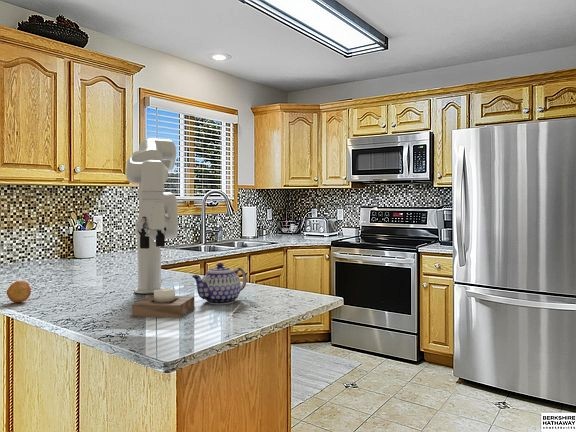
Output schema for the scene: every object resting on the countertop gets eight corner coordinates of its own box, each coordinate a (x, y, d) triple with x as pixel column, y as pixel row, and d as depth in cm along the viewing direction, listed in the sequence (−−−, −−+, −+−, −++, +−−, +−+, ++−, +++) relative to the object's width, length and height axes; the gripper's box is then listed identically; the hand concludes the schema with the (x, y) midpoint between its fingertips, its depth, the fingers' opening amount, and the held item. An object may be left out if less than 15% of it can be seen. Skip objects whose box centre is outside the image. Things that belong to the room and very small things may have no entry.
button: (158, 298, 162) (158, 288, 162) (177, 298, 161) (177, 288, 161) (150, 302, 155) (150, 291, 155) (171, 302, 154) (170, 292, 154)
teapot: (235, 295, 190) (235, 258, 190) (258, 300, 178) (258, 261, 178) (181, 303, 173) (181, 263, 173) (203, 309, 161) (202, 267, 161)
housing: (151, 306, 167) (151, 295, 167) (194, 307, 165) (194, 296, 165) (132, 316, 151) (132, 304, 151) (179, 317, 149) (179, 305, 149)
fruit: (4, 286, 177) (3, 285, 170) (27, 279, 181) (26, 277, 174) (11, 306, 177) (10, 305, 170) (33, 298, 181) (34, 297, 174)
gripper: (156, 198, 166) (156, 245, 165) (127, 196, 149) (128, 249, 149) (175, 198, 164) (175, 246, 164) (148, 195, 147) (148, 249, 147)
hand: (152, 247), depth 156 cm, fingers open, 9 cm apart
